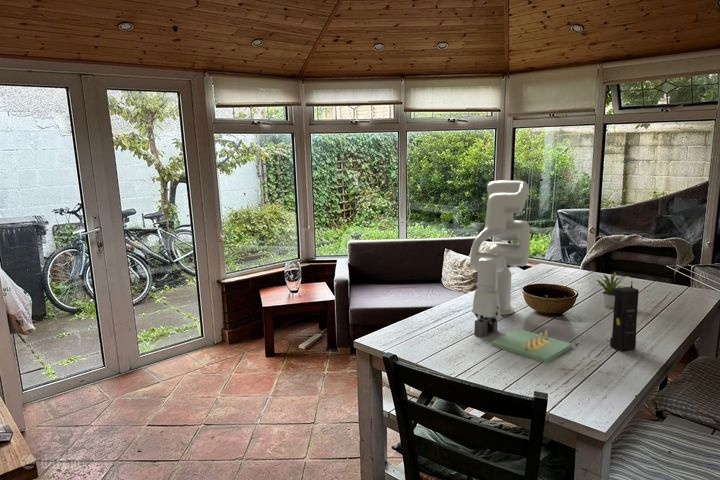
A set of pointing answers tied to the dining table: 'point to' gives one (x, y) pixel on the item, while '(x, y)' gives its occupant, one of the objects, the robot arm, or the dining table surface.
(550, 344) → the header board
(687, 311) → the dining table surface
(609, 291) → the house plant
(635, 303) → the portable radio
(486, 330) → the block
